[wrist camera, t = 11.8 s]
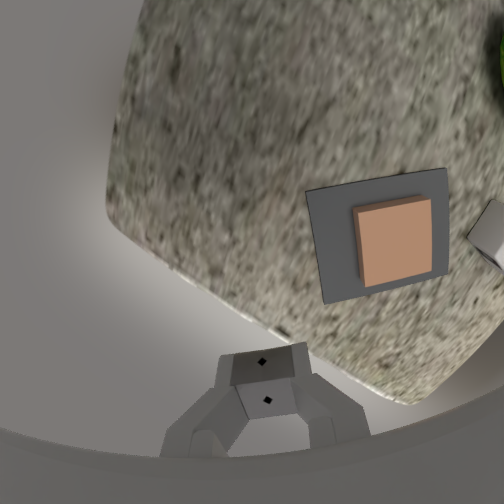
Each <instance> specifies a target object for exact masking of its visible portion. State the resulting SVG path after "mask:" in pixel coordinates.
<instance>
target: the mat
mask: <svg viewBox="0 0 504 504" xmlns="http://www.w3.org/2000/svg"><path fill="white" fill-rule="evenodd" d="M305 192H306V197H307V203H308V208H309V213H310V219H311V224H312V230H313V236H314V242H315V248H316V254H317V260H318V266H319V273H320V279H321V286H322V293H323V300H324V305H325V304H330V303H335V302H339V301H344V300H348V299H353V298H357V297H361V296H366V295H370V294H374V293H378V292H382V291H386V290H390V289H394V288H398V287H402V286H406V285H410V284H414V283H417V282H421V281H425V280H428V279H432V278H436V277H439V276H443V275H446V274H448V264H449V193H448V176H447V168H439V169H432V170H426V171H419V172H412V173H406V174H400V175H393V176H387V177H381V178H375V179H369V180H364V181H358V182H352V183H347V184H342V185H336V186H331V187H326V188H320V189H315V190H310V191H305ZM418 195H423V196H425V197H427V198H429V199H431V221H432V270H431V271H429V272H425V273H421V274H418V275H414V276H410V277H406V278H402V279H398V280H394V281H390V282H386V283H382V284H377V285H373V286H369V287H365V286H364V285H363V283H362V281H361V279H360V273H359V261H358V251H357V242H356V233H355V225H354V217H353V209H352V208H354V207H359V206H364V205H370V204H375V203H380V202H386V201H391V200H396V199H402V198H407V197H413V196H418Z"/></svg>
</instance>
